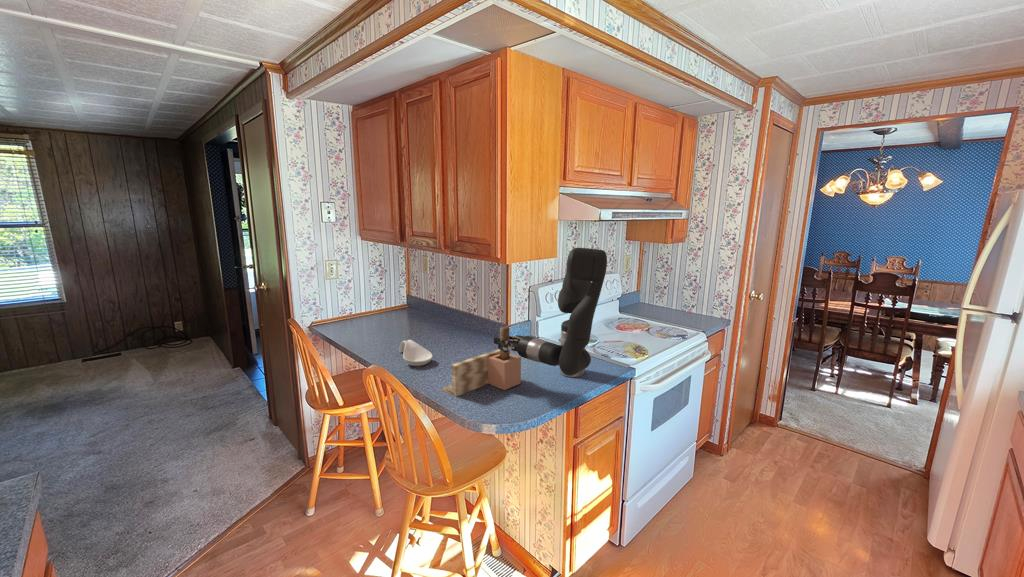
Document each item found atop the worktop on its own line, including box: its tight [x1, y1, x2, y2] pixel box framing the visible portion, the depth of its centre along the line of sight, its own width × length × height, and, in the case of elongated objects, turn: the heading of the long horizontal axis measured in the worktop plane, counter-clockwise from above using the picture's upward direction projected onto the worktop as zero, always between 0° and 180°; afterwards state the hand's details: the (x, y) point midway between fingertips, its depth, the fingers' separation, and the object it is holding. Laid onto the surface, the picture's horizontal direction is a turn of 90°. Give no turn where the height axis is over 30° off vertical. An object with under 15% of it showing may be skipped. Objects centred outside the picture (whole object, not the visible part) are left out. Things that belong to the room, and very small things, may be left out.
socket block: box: [487, 353, 522, 391], centre depth 157 cm, size 8×8×10 cm
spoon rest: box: [398, 339, 433, 367], centre depth 183 cm, size 24×12×7 cm, turn 34°
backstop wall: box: [442, 348, 500, 397], centre depth 157 cm, size 24×7×11 cm, turn 136°
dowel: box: [499, 326, 511, 361], centre depth 155 cm, size 4×4×14 cm
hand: (498, 338), depth 157 cm, fingers open, 4 cm apart
